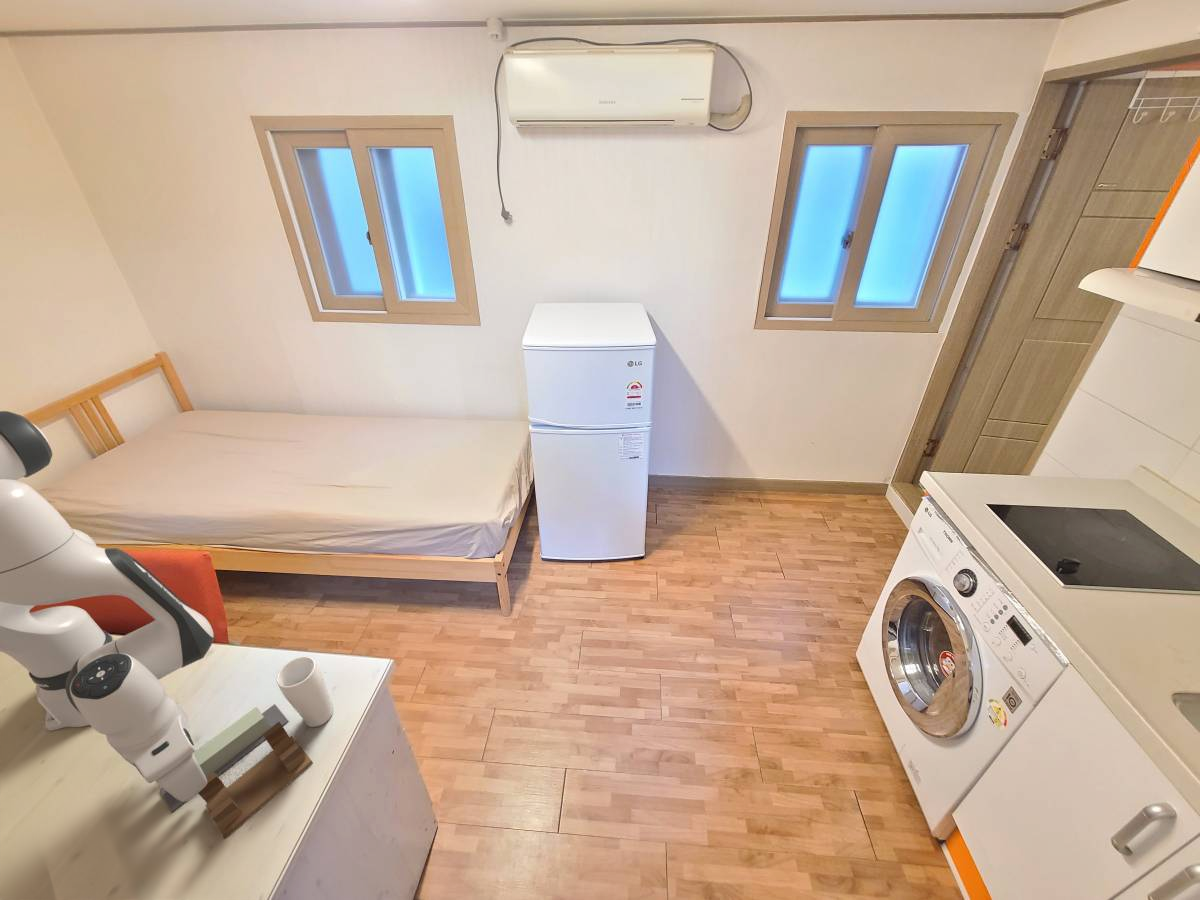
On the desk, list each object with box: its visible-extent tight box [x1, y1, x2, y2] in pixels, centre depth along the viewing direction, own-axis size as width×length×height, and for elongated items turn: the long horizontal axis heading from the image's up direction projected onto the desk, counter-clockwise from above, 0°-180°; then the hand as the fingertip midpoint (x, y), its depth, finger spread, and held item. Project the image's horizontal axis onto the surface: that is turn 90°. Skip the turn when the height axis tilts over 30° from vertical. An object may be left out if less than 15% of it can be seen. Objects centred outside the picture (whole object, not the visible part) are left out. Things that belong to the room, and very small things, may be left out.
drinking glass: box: [276, 656, 334, 728], centre depth 96 cm, size 7×7×15 cm
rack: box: [198, 722, 313, 839], centre depth 88 cm, size 8×15×6 cm, turn 144°
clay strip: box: [173, 706, 271, 800], centre depth 92 cm, size 16×4×4 cm, turn 143°
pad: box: [159, 703, 289, 813], centre depth 94 cm, size 6×20×1 cm, turn 144°
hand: (189, 771), depth 89 cm, fingers open, 8 cm apart
